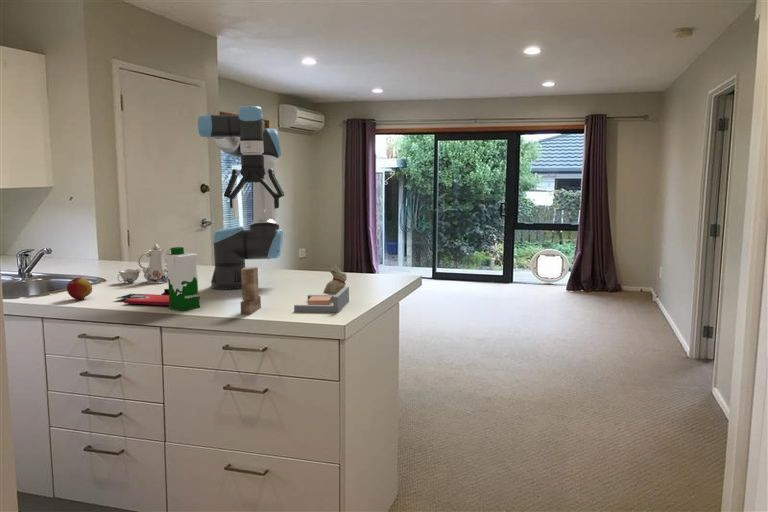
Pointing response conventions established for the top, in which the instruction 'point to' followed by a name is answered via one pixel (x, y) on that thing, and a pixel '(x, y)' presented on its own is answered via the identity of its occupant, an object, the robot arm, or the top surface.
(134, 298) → the red board with handle
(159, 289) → the top surface
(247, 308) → the stepped wooden beam
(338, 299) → the frame
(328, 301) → the salmon square block
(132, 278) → the chinaware
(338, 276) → the tan bunny-shaped figure
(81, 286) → the apple
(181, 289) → the milk carton
